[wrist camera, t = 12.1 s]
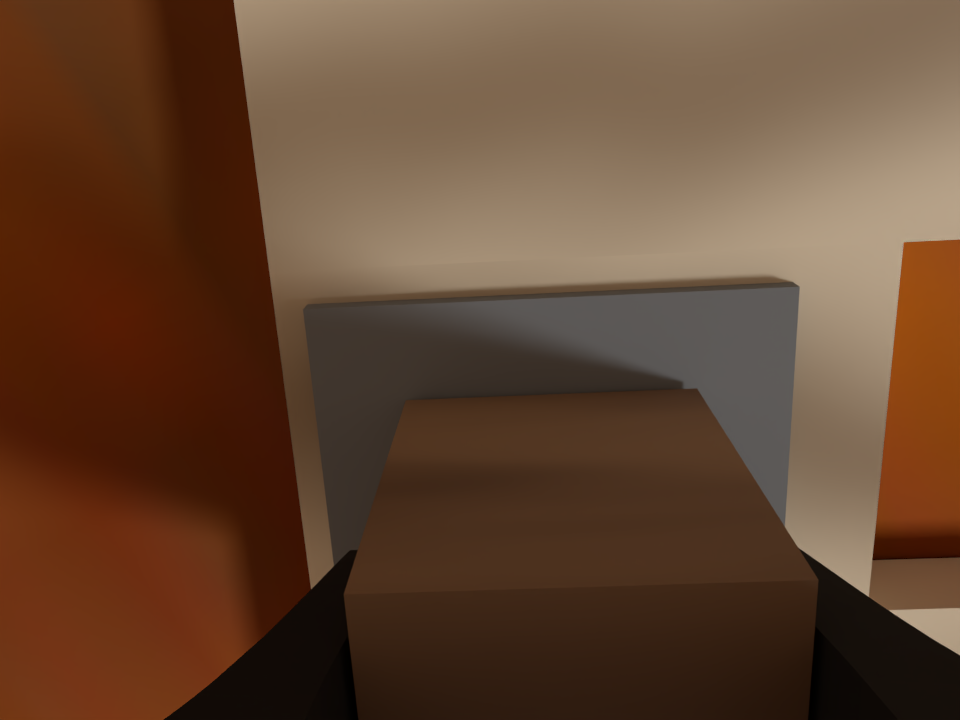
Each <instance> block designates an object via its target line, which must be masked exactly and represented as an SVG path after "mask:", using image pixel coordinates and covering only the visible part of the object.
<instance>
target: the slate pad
mask: <svg viewBox="0 0 960 720" xmlns="http://www.w3.org/2000/svg"><path fill="white" fill-rule="evenodd" d="M799 291H800V287H799V286H798V285H797V284H795V283H794V282H781V283H759V284H737V285H715V286H694V287H672V288H650V289H628V290H606V291H584V292H563V293H541V294H519V295H497V296H475V297H453V298H432V299H410V300H388V301H366V302H344V303H322V304H307V305H306V306H305V308H304V309H303V314H304V323H305V331H306V339H307V347H308V356H309V364H310V372H311V380H312V389H313V397H314V405H315V414H316V422H317V430H318V438H319V447H320V455H321V463H322V471H323V480H324V488H325V496H326V505H327V513H328V521H329V529H330V538H331V546H332V554H333V562H334V565H335V564H336V563H337V562H338V561H339V560H340V559H341V558H342V557H343V556H344V555H345V554H346V553H348V552H349V551H350V550H358V548H359V545H360V542H361V539H362V536H363V532H364V529H365V526H366V523H367V520H368V517H369V514H370V511H371V507H372V504H373V501H374V498H375V495H376V492H377V489H378V485H379V482H380V479H381V476H382V473H383V470H384V467H385V464H386V460H387V457H388V454H389V451H390V448H391V445H392V442H393V439H394V435H395V432H396V429H397V426H398V423H399V420H400V417H401V414H402V410H403V407H404V404H405V401H406V400H424V399H448V398H473V397H497V396H522V395H546V394H571V393H596V392H620V391H645V390H669V389H694V388H697V389H698V391H699V392H700V394H701V395H702V397H703V398H704V400H705V402H706V403H707V405H708V406H709V408H710V410H711V411H712V413H713V414H714V416H715V417H716V419H717V421H718V422H719V424H720V425H721V427H722V428H723V430H724V432H725V433H726V435H727V436H728V438H729V439H730V441H731V443H732V444H733V446H734V447H735V449H736V451H737V452H738V454H739V455H740V457H741V458H742V460H743V462H744V463H745V465H746V466H747V468H748V469H749V471H750V473H751V474H752V476H753V477H754V479H755V480H756V482H757V484H758V485H759V487H760V488H761V490H762V492H763V493H764V495H765V496H766V498H767V499H768V501H769V503H770V504H771V506H772V507H773V509H774V510H775V512H776V514H777V515H778V517H779V518H780V520H781V521H782V523H783V525H784V526H785V518H786V501H787V485H788V469H789V453H790V437H791V421H792V404H793V388H794V372H795V356H796V340H797V323H798V307H799Z"/></svg>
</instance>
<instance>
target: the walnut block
mask: <svg viewBox="0 0 960 720" xmlns="http://www.w3.org/2000/svg"><path fill="white" fill-rule="evenodd" d="M817 594H818V578H817V577H816V575H815V574H814V572H813V570H812V569H811V567H810V566H809V564H808V562H807V561H806V559H805V558H804V556H803V555H802V553H801V551H800V550H799V548H798V547H797V545H796V544H795V542H794V540H793V539H792V537H791V536H790V534H789V533H788V531H787V529H786V528H785V526H784V525H783V523H782V521H781V520H780V518H779V517H778V515H777V514H776V512H775V510H774V509H773V507H772V506H771V504H770V503H769V501H768V499H767V498H766V496H765V495H764V493H763V492H762V490H761V488H760V487H759V485H758V484H757V482H756V480H755V479H754V477H753V476H752V474H751V473H750V471H749V469H748V468H747V466H746V465H745V463H744V462H743V460H742V458H741V457H740V455H739V454H738V452H737V451H736V449H735V447H734V446H733V444H732V443H731V441H730V439H729V438H728V436H727V435H726V433H725V432H724V430H723V428H722V427H721V425H720V424H719V422H718V421H717V419H716V417H715V416H714V414H713V413H712V411H711V410H710V408H709V406H708V405H707V403H706V402H705V400H704V398H703V397H702V395H701V394H700V392H699V391H698V389H697V388H694V389H669V390H645V391H620V392H596V393H571V394H546V395H522V396H497V397H473V398H448V399H424V400H406V401H405V404H404V407H403V410H402V414H401V417H400V420H399V423H398V426H397V429H396V432H395V435H394V439H393V442H392V445H391V448H390V451H389V454H388V457H387V460H386V464H385V467H384V470H383V473H382V476H381V479H380V482H379V485H378V489H377V492H376V495H375V498H374V501H373V504H372V507H371V511H370V514H369V517H368V520H367V523H366V526H365V529H364V532H363V536H362V539H361V542H360V545H359V548H358V551H357V554H356V557H355V561H354V564H353V567H352V570H351V573H350V576H349V579H348V582H347V586H346V589H345V592H344V602H345V610H346V619H347V627H348V636H349V644H350V653H351V661H352V670H353V678H354V687H355V695H356V704H357V712H358V720H808V713H809V700H810V686H811V673H812V660H813V647H814V633H815V620H816V607H817Z"/></svg>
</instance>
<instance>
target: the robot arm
mask: <svg viewBox="0 0 960 720" xmlns="http://www.w3.org/2000/svg"><path fill="white" fill-rule="evenodd" d="M799 550H800V551H801V553H802V555H803V556H804V558H805V559H806V561H807V562H808V564H809V566H810V567H811V569H812V570H813V572H814V574H815V575H816V577H817V578H818V594H817V607H816V620H815V633H814V647H813V660H812V673H811V686H810V700H809V713H808V720H960V655H959V654H957V653H955V652H954V651H952V650H950V649H949V648H947V647H945V646H944V645H942V644H940V643H939V642H937V641H935V640H934V639H932V638H930V637H929V636H927V635H926V634H924V633H923V632H921V631H919V630H918V629H916V628H915V627H913V626H912V625H910V624H908V623H907V622H905V621H904V620H902V619H901V618H899V617H898V616H896V615H895V614H893V613H892V612H890V611H889V610H887V609H886V608H884V607H883V606H881V605H880V604H878V603H877V602H875V601H874V600H873V599H871V598H870V597H868V596H867V595H865V594H864V593H862V592H861V591H859V590H858V589H857V588H855V587H854V586H852V585H851V584H849V583H848V582H847V581H845V580H844V579H842V578H841V577H839V576H838V575H837V574H835V573H834V572H832V571H831V570H830V569H828V568H827V567H825V566H824V565H822V564H821V563H820V562H818V561H817V560H815V559H814V558H812V557H811V556H810V555H808V554H807V553H805V552H804V551H802V550H801V549H799ZM357 551H358V550H350V551H349V552H348V553H346V554H345V555H344V556H343V557H342V558H341V559H340V560H339V561H338V562H337V563H336V564H335V565H334V566H333V567H332V569H331V570H330V571H329V572H328V573H327V574H326V575H325V576H324V577H323V578H322V579H321V580H320V581H319V582H318V583H317V584H316V585H315V586H314V587H313V588H312V589H311V590H310V591H309V592H308V593H307V594H306V595H305V596H304V597H303V598H302V599H301V600H300V602H299V603H298V604H297V605H296V606H295V607H294V608H293V609H292V610H291V611H290V612H289V613H288V614H287V615H286V616H285V617H284V618H282V619H281V620H280V621H279V622H278V623H277V624H276V625H275V626H274V627H273V628H272V629H271V630H270V631H269V632H268V633H267V634H266V635H265V636H264V637H263V638H262V639H261V640H260V641H258V642H257V643H256V644H255V645H254V646H253V647H252V648H251V649H249V650H248V651H247V652H246V653H245V654H244V655H243V656H242V657H240V658H239V659H238V660H237V661H236V662H235V663H234V664H232V665H231V666H230V667H229V668H228V669H227V670H226V671H225V672H223V673H222V674H221V675H220V676H219V677H218V678H217V679H215V680H214V681H213V682H212V683H211V684H210V685H208V686H207V687H206V688H205V689H203V690H202V691H201V692H200V693H198V694H197V695H196V696H195V697H193V698H192V699H191V700H189V701H188V702H187V703H186V704H184V705H183V706H182V707H180V708H179V709H178V710H176V711H175V712H174V713H172V714H171V715H169V716H168V717H167V718H165V719H164V720H358V712H357V704H356V695H355V687H354V678H353V670H352V661H351V653H350V644H349V636H348V627H347V619H346V610H345V602H344V592H345V589H346V586H347V582H348V579H349V576H350V573H351V570H352V567H353V564H354V561H355V557H356V554H357Z"/></svg>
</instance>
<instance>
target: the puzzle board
mask: <svg viewBox="0 0 960 720" xmlns="http://www.w3.org/2000/svg"><path fill="white" fill-rule="evenodd" d="M234 7H235V15H236V22H237V30H238V37H239V45H240V53H241V60H242V68H243V75H244V83H245V91H246V98H247V106H248V113H249V121H250V129H251V136H252V144H253V151H254V159H255V167H256V174H257V182H258V190H259V197H260V205H261V212H262V220H263V228H264V235H265V243H266V250H267V258H268V266H269V273H270V281H271V288H272V296H273V304H274V311H275V319H276V326H277V334H278V342H279V349H280V357H281V364H282V372H283V380H284V387H285V395H286V403H287V410H288V418H289V425H290V433H291V441H292V448H293V456H294V463H295V471H296V479H297V486H298V494H299V501H300V509H301V517H302V524H303V532H304V539H305V547H306V555H307V562H308V570H309V577H310V585H311V589H312V588H313V587H314V586H315V585H316V584H317V583H318V582H319V581H320V580H321V579H322V578H323V577H324V576H325V575H326V574H327V573H328V572H329V571H330V570H331V569H332V567H333V566H334V562H333V554H332V546H331V538H330V529H329V521H328V513H327V505H326V496H325V488H324V480H323V471H322V463H321V455H320V447H319V438H318V430H317V422H316V414H315V405H314V397H313V389H312V380H311V372H310V364H309V356H308V347H307V339H306V331H305V323H304V314H303V309H304V308H305V306H306V305H307V304H322V303H344V302H366V301H388V300H410V299H432V298H453V297H475V296H497V295H519V294H541V293H563V292H584V291H606V290H628V289H650V288H672V287H694V286H715V285H737V284H759V283H781V282H794V283H795V284H797V285H798V286H799V287H800V291H799V307H798V323H797V340H796V356H795V372H794V388H793V404H792V421H791V437H790V453H789V469H788V485H787V501H786V518H785V528H786V529H787V531H788V533H789V534H790V536H791V537H792V539H793V540H794V542H795V544H796V545H797V547H798V548H799V549H801V550H802V551H804V552H805V553H807V554H808V555H810V556H811V557H812V558H814V559H815V560H817V561H818V562H820V563H821V564H822V565H824V566H825V567H827V568H828V569H830V570H831V571H832V572H834V573H835V574H837V575H838V576H839V577H841V578H842V579H844V580H845V581H847V582H848V583H849V584H851V585H852V586H854V587H855V588H857V589H858V590H859V591H861V592H862V593H864V594H865V595H867V596H868V597H870V598H871V599H873V600H874V601H875V602H877V603H878V604H880V605H881V606H883V607H884V608H886V609H887V610H889V611H890V612H892V613H893V614H895V615H896V616H898V617H899V618H901V619H902V620H904V621H905V622H907V623H908V624H910V625H912V626H913V627H915V628H916V629H918V630H919V631H921V632H923V633H924V634H926V635H927V636H929V637H930V638H932V639H934V640H935V641H937V642H939V643H940V644H942V645H944V646H945V647H947V648H949V649H950V650H952V651H954V652H955V653H957V654H959V655H960V557H958V558H926V559H895V560H872V558H873V548H874V538H875V527H876V517H877V507H878V497H879V487H880V477H881V466H882V456H883V446H884V436H885V426H886V415H887V405H888V395H889V385H890V375H891V365H892V354H893V344H894V334H895V324H896V314H897V303H898V293H899V283H900V273H901V263H902V253H903V242H915V241H936V240H957V239H960V0H234Z"/></svg>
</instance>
